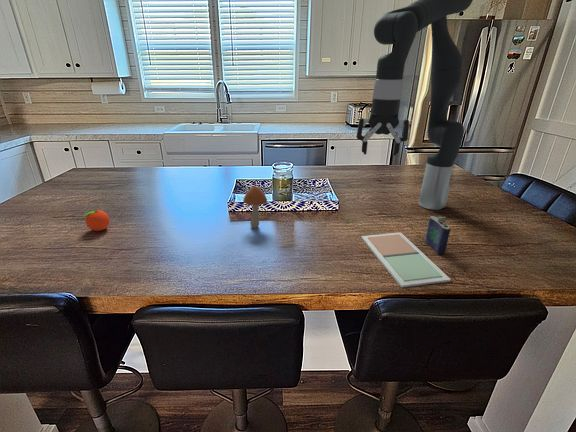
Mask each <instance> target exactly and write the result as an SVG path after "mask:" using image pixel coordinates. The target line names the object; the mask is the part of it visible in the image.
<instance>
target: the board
mask: <svg viewBox="0 0 576 432" xmlns="http://www.w3.org/2000/svg"><path fill="white" fill-rule="evenodd" d="M360 238H361V239H362V241H363V242H364V243H365V245H367V247H368V249H370V251H371V252H372V253H373V254H374V256H375V257H376V258H377V259H378V260H379V262H380V263H381V265H382V266H383V267H384V268H385V269H386V271H388V273H389V274H390V276H391V277H392V278H393V279H394V280H395V282H396V283H397V284H398V286H399V287H400V288H408V287H414V286H422V285H431V284H439V283H447V282H451V278H450V277H449V276H448V275H447V274H446V273H444V271H442V270H441V268H439V267H438V266H437V265H436V264H435V263H434V262H433V261H432V260H431V259H430V258H429V257H428V256H427V255H425V253H423V251H421V250H420V249H419V248H418V247H417V246H416V245H415V244H413V242H412V241H411V240H410V239H408V238H407V237H406V236H405V235H404V234H403V233H402V232H394V233H393V232H392V233H382V234H373V235H372V234H371V235H361V237H360Z"/></svg>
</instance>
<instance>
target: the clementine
mask: <svg viewBox="0 0 576 432" xmlns="http://www.w3.org/2000/svg"><path fill="white" fill-rule="evenodd" d="M85 216H86V218H85V224H86V226H87V227H88V228H89V230H92V231H96V232H99V231H104V230H105V229H106V228H107V227H108V226H109V225H110V221H111V220H110V217H109V214H107V213H106V212H105V211H103V210H100V209H99V210H97V209H96V210H93V211H88V212H87V213H85V214H83V216H82V218H81V221H82V220H83V218H84V217H85Z"/></svg>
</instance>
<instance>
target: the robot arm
mask: <svg viewBox="0 0 576 432" xmlns="http://www.w3.org/2000/svg"><path fill="white" fill-rule="evenodd" d="M473 1H474V0H416V1H414V2H412V3H410V4H409V5H407V6H404V7H400V8H398V9H394V10H391V11H387V12H386V13H383V14H382V15H381V16H380V17H379V18H378V19H377V20H376V22H375V24H374V28H373V36H374V38H375V41H377V43H379V44H381V45H386V46H387V45H394V47H393V49H392V50H391V52H389V53H387V54H383V55H381V56H380V57H379V58H378V61H377V66H376V76H375V81H374V86H373V92H372V99H371V100H372V101H371V109H370V110H371V111H370V117H369V118H363V117H359V119H358V125H357V131H356V140H359V141H361V142H362V143H361V153H363V155H367V151H368V140H369V139H370V138H372V136H373V135H374V134H375V135H387V136H388V135H391V136H392V137H393V139H394V140H395V141H394V142H393V149H392V156H395V157H396V156H397V154H398V155H399V152H400V146H401V143H402V142H407V141H408V137H409V136H408V135H409V129H410V120H409V119H408V118H404V119H399V113H400V105H401V100H402V96H403V94H402V93H403V78H404V73H405V64H406V62H407V59H408V56H409V54H410V50H411V48H412V45H413V42H414V40H415V39H416V36H417V33H418V32H420V31H422V30H423V29H425V28H427V27H428V26H430V27H431V65H430V66H431V68H430V104H429V105H430V106H429V108H430V109H429V117H428V123H427V139H428V140H429V142H430V143H432V144H434V145H436V146H439V149H438V152H437V153H431V154H429V155H428V156H427V159H426V164H425V169H424V174H423V179H422V185H421V189H420V193H419V199H418V205H419V206H420V207H422V208H424V209H428V210H433V211H435V210H436V211H439V210H441V209H443V208H446V205H447V202H448V197H449V193H450V189H451V183H450V179H451V176H452V171H453V166H454V162H455V160H456V159H457V157H458V155H459V151H460V149H461V144H462V142H463V138H464V132H465V131H464V130H465V129H464V125H463V124H462V123H461V122H459V121H456V120H450V119H448V108H449V105H450V101H451V99H452V97H453V96H454V94H455V92H456V91H457V90H458V88H459V85H460V84H461V80H462V73H463V57H462V54H461V52H460V50H459V47H458V46H457V45H456V44H455V41H454V40H453V38H452V37H451V34H450V33H449V28H448V16H450V15H454V14H455V15H456V14H459V13H462V12H464V11H466V10H467V9H469V7H470V6H471V5H472V3H473ZM367 124H368V125H369V126H370V128H369V129H368V131H367V132H366V133H365V134H364V135H363V129H364V127H365V126H366V125H367ZM399 125H400V127H401V128H402V130H401V131H402V132H401V136H399V135H398V133H397V132H396V130H395V129H396V128H397V126H399Z"/></svg>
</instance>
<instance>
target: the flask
mask: <svg viewBox="0 0 576 432" xmlns="http://www.w3.org/2000/svg"><path fill="white" fill-rule="evenodd" d="M445 219H446V216H433V215H431V216H429V219H428V222H427V223H428V224H427V228H426V233H425V236H424V241H423V242H424V243H425V245H427V246H428V247H429V248H430V249H432V251H434V253H435V254H436V255H438V256H440V257H444V256H445V255H446V251H447V245H448V242H449V238H450V232H451V227H450V226H449V225H448V224H447V223H446V221H445Z"/></svg>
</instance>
